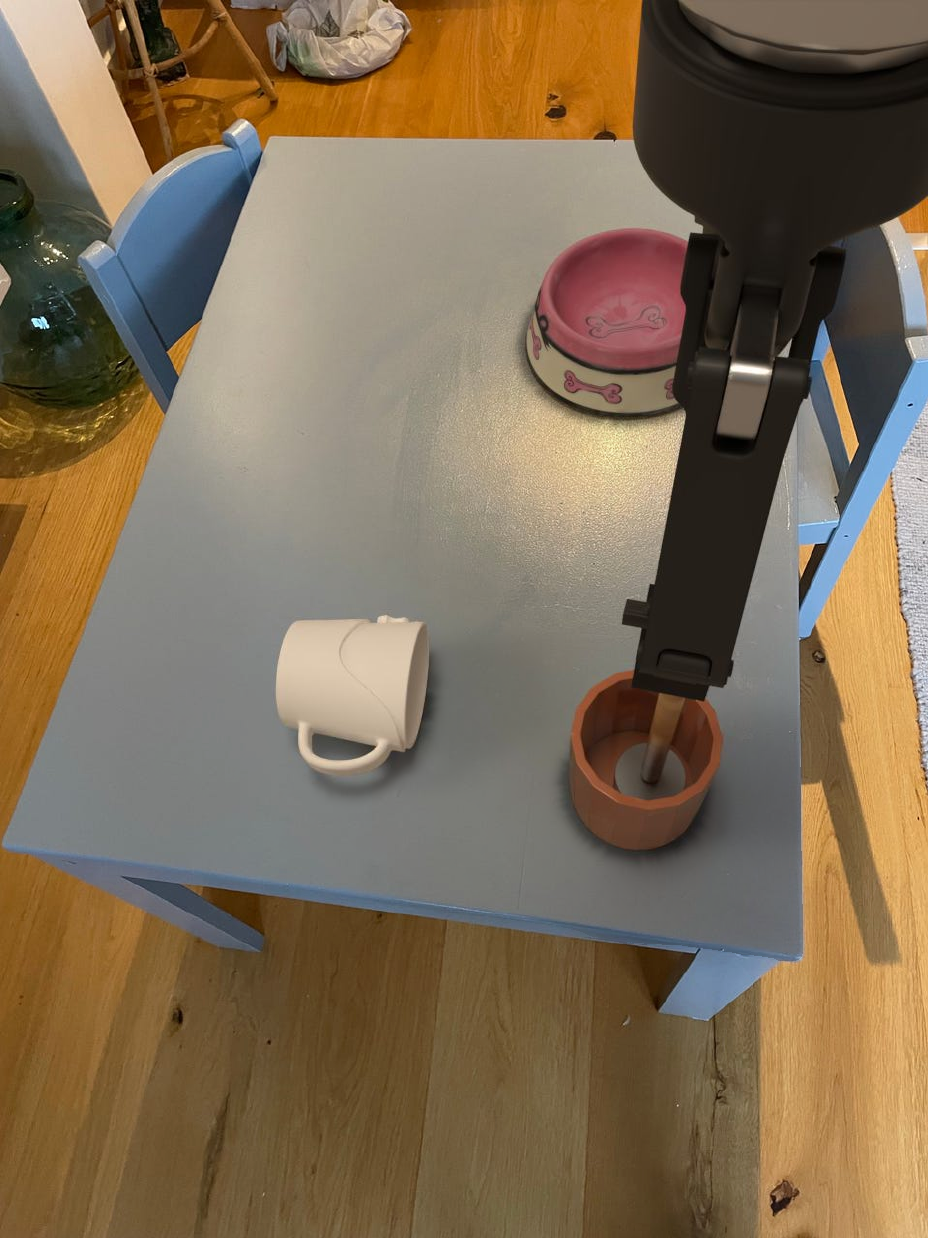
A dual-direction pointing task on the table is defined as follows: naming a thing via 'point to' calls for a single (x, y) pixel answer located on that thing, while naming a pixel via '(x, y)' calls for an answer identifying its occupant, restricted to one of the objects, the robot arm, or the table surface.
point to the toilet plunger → (653, 758)
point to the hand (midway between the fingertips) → (694, 536)
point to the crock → (610, 729)
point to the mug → (353, 686)
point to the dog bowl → (611, 323)
